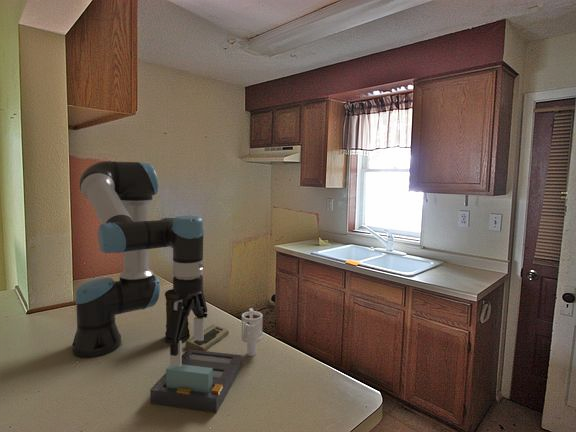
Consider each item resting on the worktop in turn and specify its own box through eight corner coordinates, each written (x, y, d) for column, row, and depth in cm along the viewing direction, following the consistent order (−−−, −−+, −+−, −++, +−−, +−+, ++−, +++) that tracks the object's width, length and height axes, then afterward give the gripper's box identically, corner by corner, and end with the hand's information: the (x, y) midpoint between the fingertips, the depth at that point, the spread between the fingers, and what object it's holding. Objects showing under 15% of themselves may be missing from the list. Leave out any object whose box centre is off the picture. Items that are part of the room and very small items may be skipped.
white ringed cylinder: (260, 347, 125) (261, 307, 123) (263, 357, 118) (264, 315, 116) (240, 349, 123) (241, 308, 121) (242, 359, 116) (242, 316, 114)
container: (176, 346, 124) (175, 297, 122) (159, 339, 129) (158, 292, 127) (195, 336, 132) (194, 290, 130) (178, 330, 136) (178, 286, 134)
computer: (203, 354, 120) (203, 344, 120) (185, 348, 124) (185, 339, 123) (229, 335, 135) (229, 327, 134) (211, 331, 138) (211, 323, 137)
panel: (166, 396, 95) (166, 368, 94) (171, 390, 97) (171, 363, 97) (208, 402, 93) (208, 374, 92) (212, 395, 95) (212, 368, 95)
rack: (150, 403, 93) (150, 387, 93) (187, 360, 115) (187, 347, 114) (216, 413, 90) (216, 396, 90) (241, 367, 112) (242, 353, 111)
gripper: (178, 293, 78) (179, 380, 81) (219, 264, 103) (218, 332, 105) (148, 289, 79) (149, 376, 82) (195, 262, 104) (194, 329, 107)
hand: (188, 351), depth 94 cm, fingers open, 13 cm apart
